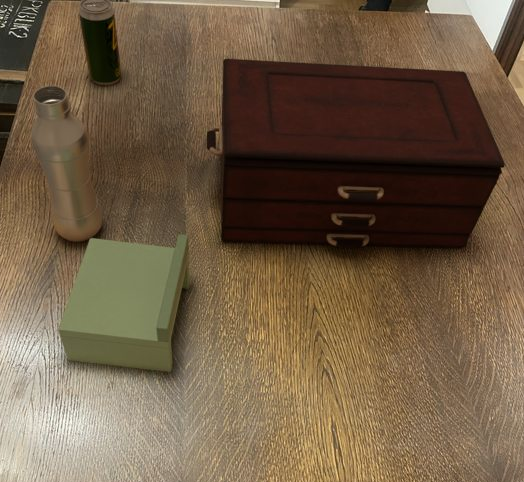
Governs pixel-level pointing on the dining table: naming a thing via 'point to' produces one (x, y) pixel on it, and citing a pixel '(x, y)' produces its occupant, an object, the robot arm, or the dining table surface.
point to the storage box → (351, 155)
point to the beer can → (100, 41)
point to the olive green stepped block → (125, 304)
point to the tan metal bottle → (65, 165)
